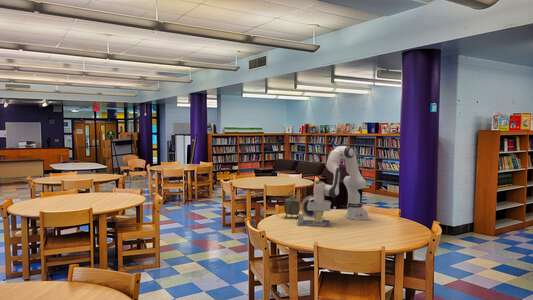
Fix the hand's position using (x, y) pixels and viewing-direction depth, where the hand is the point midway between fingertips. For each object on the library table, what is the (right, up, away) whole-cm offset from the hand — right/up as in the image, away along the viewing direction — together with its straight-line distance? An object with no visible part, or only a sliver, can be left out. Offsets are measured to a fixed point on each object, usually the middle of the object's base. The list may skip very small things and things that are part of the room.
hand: (318, 215), depth 338 cm
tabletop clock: (-22, -6, +22) cm, 32 cm away
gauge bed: (-3, -7, +1) cm, 8 cm away
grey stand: (-6, -6, -1) cm, 9 cm away
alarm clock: (-2, -6, +31) cm, 31 cm away
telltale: (-5, -6, -6) cm, 10 cm away
